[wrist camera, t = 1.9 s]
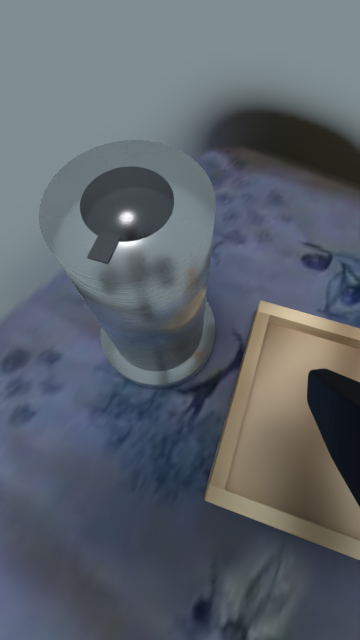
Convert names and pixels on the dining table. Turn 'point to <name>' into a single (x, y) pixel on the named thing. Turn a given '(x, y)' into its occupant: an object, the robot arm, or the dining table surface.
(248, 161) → the dining table surface
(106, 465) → the dining table surface
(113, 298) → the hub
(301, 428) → the tray
